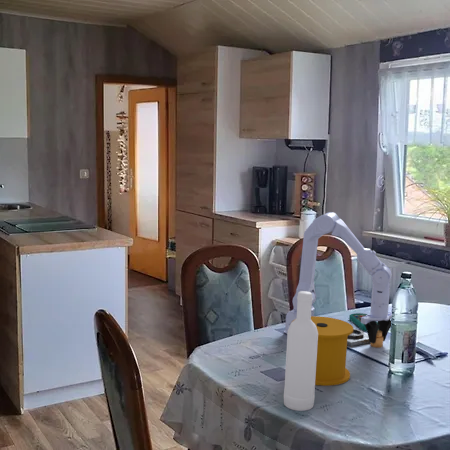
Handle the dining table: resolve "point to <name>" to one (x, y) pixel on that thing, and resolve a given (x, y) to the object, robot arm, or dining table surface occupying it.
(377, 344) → the orange rounded knob
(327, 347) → the spool
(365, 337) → the junction plate
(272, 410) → the dining table surface
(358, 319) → the digital multimeter
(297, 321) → the bottle
